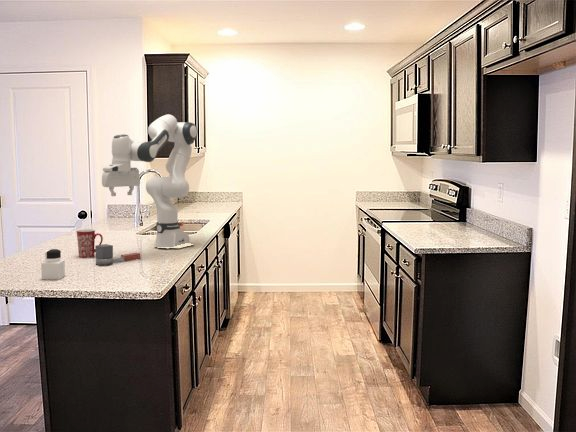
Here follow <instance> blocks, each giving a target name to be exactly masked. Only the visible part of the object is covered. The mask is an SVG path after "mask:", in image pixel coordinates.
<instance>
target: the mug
mask: <svg viewBox="0 0 576 432" xmlns="http://www.w3.org/2000/svg"><path fill="white" fill-rule="evenodd" d="M75 232H76V237H77V249H78V250H77V251H78V257H79V258H83V259H85V258H86V259H87V258H93V257H94V256H95V254H96V250H95V242H96V241H95V239H96V237H97V236H98V237H100V242H99V244H98V245H103V244H102V243H103V239H104V237H103V235H102V234H101V233H100V232H99V233H97V232H96V229H94V228H82V229H80V228H79V229H76V231H75Z"/></svg>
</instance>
